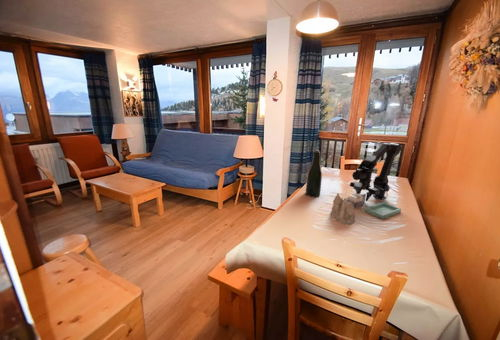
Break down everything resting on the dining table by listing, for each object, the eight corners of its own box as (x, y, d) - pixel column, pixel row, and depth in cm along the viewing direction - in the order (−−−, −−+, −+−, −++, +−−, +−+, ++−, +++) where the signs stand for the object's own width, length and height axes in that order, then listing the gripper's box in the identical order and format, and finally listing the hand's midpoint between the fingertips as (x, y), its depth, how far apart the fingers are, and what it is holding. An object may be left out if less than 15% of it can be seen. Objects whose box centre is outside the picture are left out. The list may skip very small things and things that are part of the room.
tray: (382, 205, 147) (383, 202, 146) (400, 212, 137) (401, 208, 137) (364, 211, 138) (365, 207, 137) (382, 219, 128) (382, 215, 128)
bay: (350, 200, 153) (351, 196, 152) (362, 205, 146) (362, 201, 145) (343, 202, 150) (344, 198, 149) (355, 208, 142) (356, 203, 141)
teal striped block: (360, 199, 155) (361, 191, 153) (366, 202, 151) (368, 194, 149) (348, 203, 149) (349, 195, 147) (354, 206, 145) (356, 197, 143)
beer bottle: (302, 192, 166) (306, 149, 156) (313, 190, 170) (318, 148, 160) (311, 198, 156) (316, 152, 147) (323, 195, 160) (328, 151, 151)
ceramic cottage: (342, 225, 121) (347, 200, 117) (324, 213, 136) (328, 190, 133) (365, 223, 125) (370, 198, 122) (346, 211, 141) (350, 189, 137)
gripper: (346, 175, 151) (342, 196, 156) (371, 184, 136) (367, 207, 140) (356, 173, 156) (353, 193, 161) (382, 181, 141) (378, 203, 145)
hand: (362, 199), depth 152 cm, fingers open, 6 cm apart
